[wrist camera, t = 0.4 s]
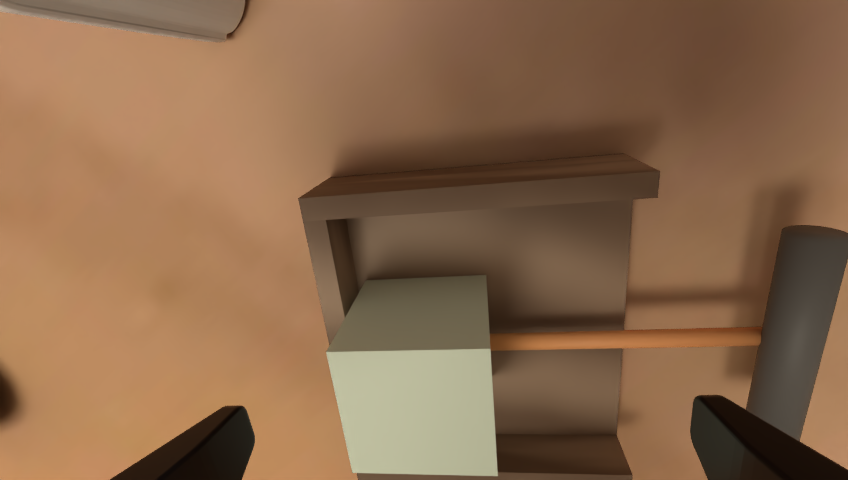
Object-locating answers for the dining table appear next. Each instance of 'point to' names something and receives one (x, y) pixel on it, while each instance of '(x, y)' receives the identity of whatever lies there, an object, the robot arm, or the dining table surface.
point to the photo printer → (141, 15)
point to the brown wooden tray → (504, 286)
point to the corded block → (472, 344)
